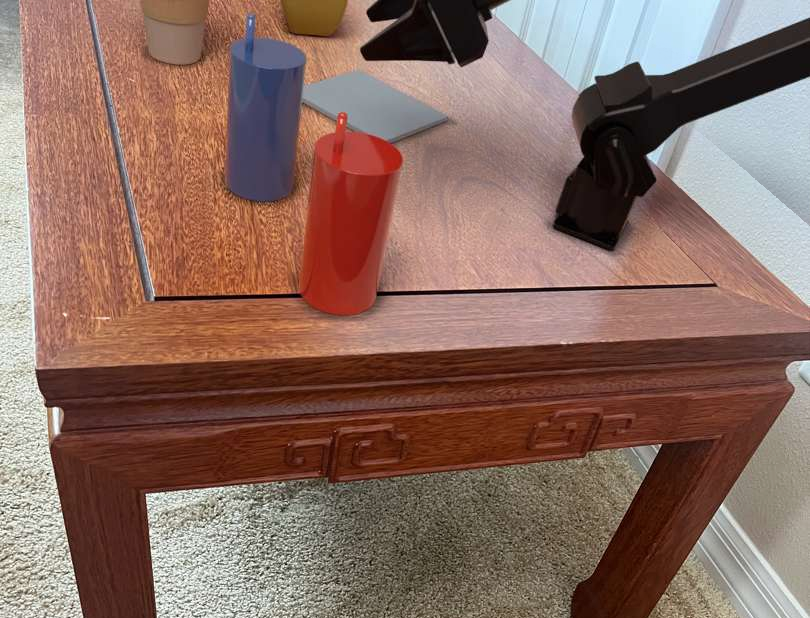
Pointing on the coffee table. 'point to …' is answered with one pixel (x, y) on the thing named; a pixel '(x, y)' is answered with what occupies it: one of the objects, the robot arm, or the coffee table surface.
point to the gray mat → (371, 106)
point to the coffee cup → (175, 29)
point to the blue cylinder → (263, 116)
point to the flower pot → (314, 15)
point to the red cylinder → (348, 219)
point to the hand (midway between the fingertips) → (365, 34)
